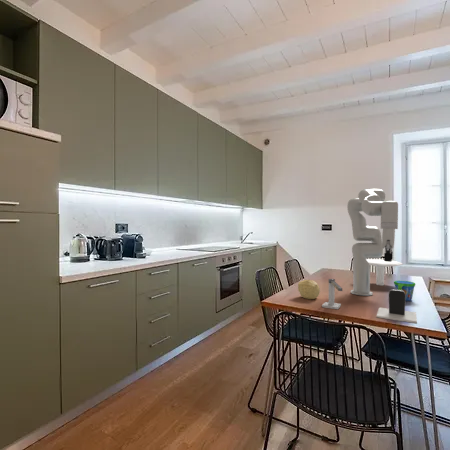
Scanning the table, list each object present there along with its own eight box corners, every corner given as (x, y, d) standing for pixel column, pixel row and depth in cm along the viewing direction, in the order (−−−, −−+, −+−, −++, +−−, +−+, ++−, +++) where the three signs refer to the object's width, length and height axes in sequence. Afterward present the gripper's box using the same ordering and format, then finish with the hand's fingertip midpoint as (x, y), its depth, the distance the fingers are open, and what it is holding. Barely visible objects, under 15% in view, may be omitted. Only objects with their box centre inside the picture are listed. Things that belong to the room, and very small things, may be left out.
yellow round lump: (295, 298, 179) (295, 279, 179) (304, 294, 188) (304, 277, 188) (314, 301, 171) (314, 282, 171) (322, 297, 181) (322, 279, 181)
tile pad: (379, 308, 157) (379, 307, 157) (415, 313, 149) (415, 312, 149) (376, 317, 144) (376, 315, 144) (416, 323, 136) (416, 321, 136)
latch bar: (334, 282, 163) (334, 278, 163) (344, 291, 141) (344, 287, 141) (327, 282, 163) (327, 278, 163) (336, 291, 141) (336, 287, 141)
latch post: (325, 303, 167) (325, 281, 167) (340, 305, 163) (341, 283, 163) (321, 307, 160) (322, 284, 160) (337, 309, 156) (338, 285, 156)
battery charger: (405, 313, 147) (405, 289, 147) (405, 315, 144) (405, 291, 144) (388, 311, 150) (388, 288, 150) (388, 313, 147) (388, 289, 147)
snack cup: (401, 296, 186) (401, 279, 186) (420, 299, 177) (420, 282, 177) (388, 299, 177) (388, 282, 176) (407, 303, 168) (407, 285, 168)
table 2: (380, 280, 237) (380, 258, 236) (412, 287, 210) (412, 263, 210) (350, 282, 228) (350, 259, 228) (380, 290, 201) (380, 264, 201)
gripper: (381, 225, 162) (381, 257, 163) (379, 226, 147) (378, 261, 148) (398, 225, 159) (397, 258, 159) (397, 226, 144) (396, 263, 144)
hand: (388, 260), depth 154 cm, fingers open, 9 cm apart
